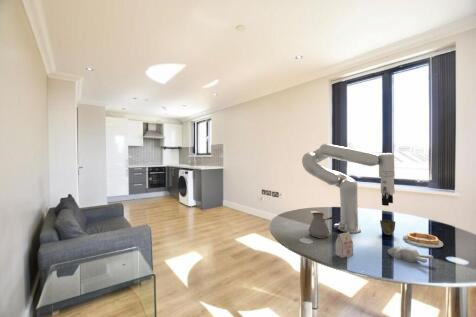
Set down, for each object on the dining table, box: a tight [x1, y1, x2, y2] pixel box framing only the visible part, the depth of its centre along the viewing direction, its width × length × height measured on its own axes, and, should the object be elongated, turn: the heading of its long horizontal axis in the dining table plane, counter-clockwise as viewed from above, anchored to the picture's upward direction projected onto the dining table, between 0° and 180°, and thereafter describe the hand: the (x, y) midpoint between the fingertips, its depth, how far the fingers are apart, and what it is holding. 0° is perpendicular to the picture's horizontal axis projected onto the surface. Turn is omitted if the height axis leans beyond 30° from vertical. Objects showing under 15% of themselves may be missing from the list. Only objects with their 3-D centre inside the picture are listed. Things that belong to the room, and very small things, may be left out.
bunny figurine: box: [387, 246, 434, 264], centre depth 96 cm, size 10×5×15 cm
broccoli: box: [379, 218, 396, 236], centre depth 128 cm, size 8×7×8 cm
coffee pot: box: [307, 211, 343, 239], centre depth 123 cm, size 21×12×15 cm, turn 27°
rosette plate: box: [402, 231, 444, 249], centre depth 116 cm, size 16×16×3 cm
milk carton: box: [335, 232, 354, 259], centre depth 102 cm, size 4×7×10 cm, turn 113°
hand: (387, 204), depth 128 cm, fingers open, 9 cm apart
